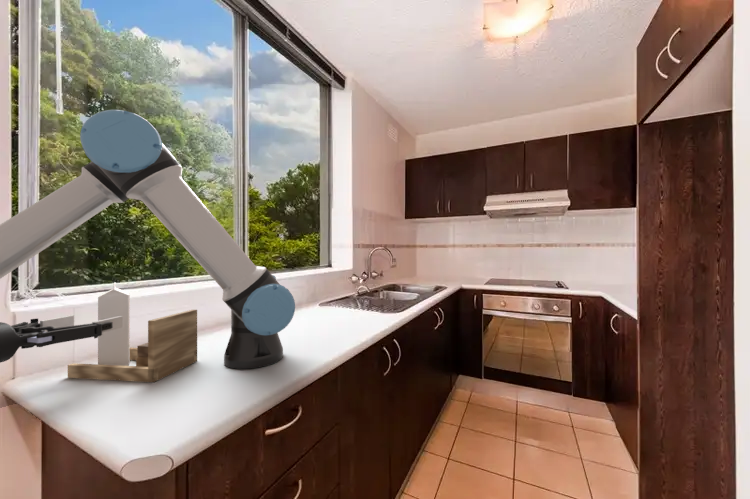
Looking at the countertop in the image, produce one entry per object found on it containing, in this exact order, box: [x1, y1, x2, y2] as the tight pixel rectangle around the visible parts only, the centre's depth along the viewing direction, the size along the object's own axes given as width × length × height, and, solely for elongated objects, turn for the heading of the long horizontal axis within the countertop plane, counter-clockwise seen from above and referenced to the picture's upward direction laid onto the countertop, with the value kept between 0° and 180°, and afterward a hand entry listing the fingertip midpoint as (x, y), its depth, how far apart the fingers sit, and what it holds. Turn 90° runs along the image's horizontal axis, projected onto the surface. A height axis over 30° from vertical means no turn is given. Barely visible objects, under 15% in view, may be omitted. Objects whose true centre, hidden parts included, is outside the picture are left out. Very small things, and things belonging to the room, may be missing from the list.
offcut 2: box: [135, 356, 148, 367], centre depth 78 cm, size 5×7×2 cm
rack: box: [67, 309, 198, 383], centre depth 79 cm, size 23×14×14 cm, turn 82°
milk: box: [97, 281, 131, 366], centre depth 80 cm, size 6×6×22 cm
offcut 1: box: [136, 342, 148, 357], centre depth 78 cm, size 5×6×2 cm
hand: (96, 321), depth 76 cm, fingers open, 13 cm apart
